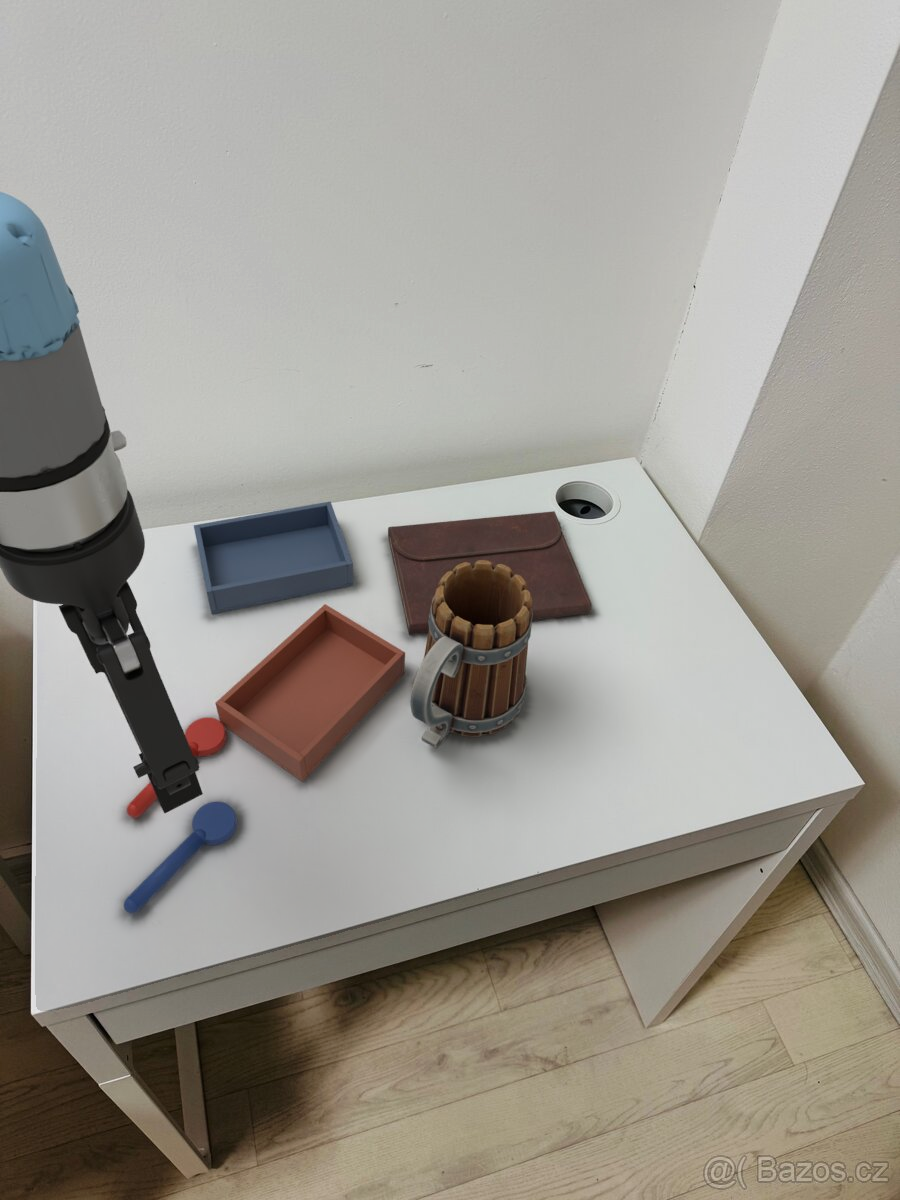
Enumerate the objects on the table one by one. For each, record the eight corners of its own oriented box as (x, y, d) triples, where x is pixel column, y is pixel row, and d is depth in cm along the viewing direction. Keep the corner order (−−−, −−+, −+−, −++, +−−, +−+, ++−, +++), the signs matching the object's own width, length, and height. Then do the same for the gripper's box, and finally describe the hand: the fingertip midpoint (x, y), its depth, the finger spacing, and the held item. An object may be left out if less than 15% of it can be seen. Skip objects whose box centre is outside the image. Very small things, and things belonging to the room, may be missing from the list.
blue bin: (211, 614, 87) (206, 592, 85) (198, 547, 94) (193, 524, 91) (353, 585, 91) (352, 563, 89) (332, 523, 98) (330, 501, 95)
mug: (452, 636, 87) (461, 533, 76) (542, 682, 84) (566, 581, 73) (366, 745, 78) (363, 645, 67) (464, 800, 75) (478, 706, 64)
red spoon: (147, 829, 71) (143, 822, 70) (115, 809, 72) (111, 801, 71) (234, 734, 78) (232, 726, 77) (204, 716, 79) (202, 708, 78)
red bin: (302, 782, 75) (299, 761, 73) (220, 723, 79) (214, 702, 76) (404, 673, 84) (405, 652, 81) (326, 625, 87) (324, 603, 85)
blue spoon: (143, 928, 66) (139, 921, 65) (112, 901, 67) (108, 894, 66) (245, 821, 72) (243, 814, 71) (215, 799, 74) (213, 791, 73)
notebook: (589, 615, 90) (593, 603, 89) (409, 636, 87) (409, 624, 85) (551, 520, 100) (554, 508, 99) (387, 536, 97) (388, 524, 95)
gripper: (221, 634, 39) (269, 837, 55) (56, 370, 52) (133, 596, 68) (58, 704, 36) (159, 898, 52) (-74, 406, 49) (39, 633, 65)
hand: (145, 727), depth 60 cm, fingers open, 13 cm apart
